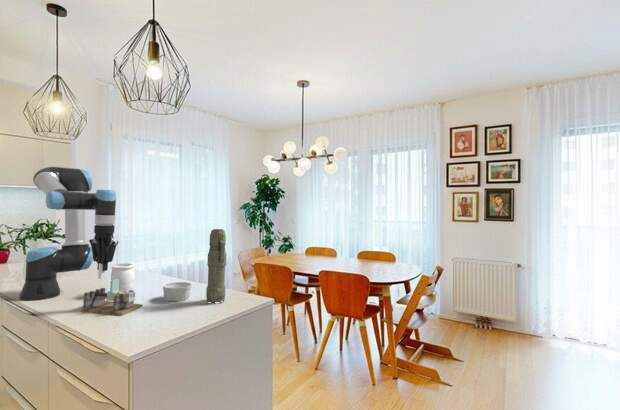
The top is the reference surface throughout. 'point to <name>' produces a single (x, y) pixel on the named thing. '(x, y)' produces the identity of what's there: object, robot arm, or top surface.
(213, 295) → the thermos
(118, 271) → the jar
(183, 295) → the ramekin
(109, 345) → the top surface
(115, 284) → the mint green stepped block
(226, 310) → the top surface
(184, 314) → the top surface
